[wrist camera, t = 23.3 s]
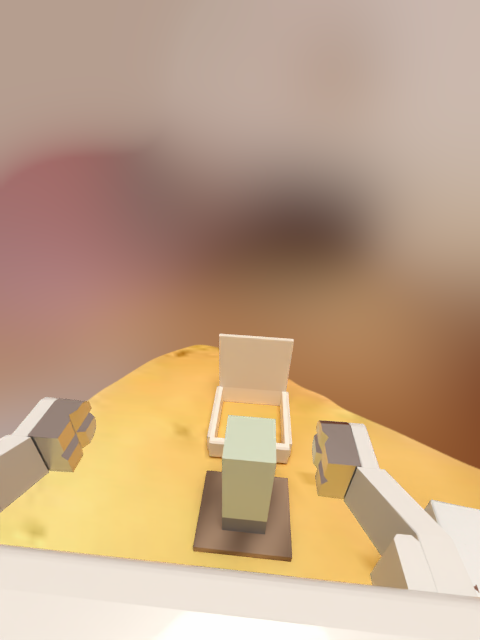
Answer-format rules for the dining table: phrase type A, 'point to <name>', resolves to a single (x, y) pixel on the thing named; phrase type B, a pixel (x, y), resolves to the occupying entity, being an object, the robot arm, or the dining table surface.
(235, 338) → the white backed tray
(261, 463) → the sage box
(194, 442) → the dining table surface
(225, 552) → the walnut board
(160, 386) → the dining table surface
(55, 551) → the robot arm
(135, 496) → the dining table surface
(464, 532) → the supplement box
